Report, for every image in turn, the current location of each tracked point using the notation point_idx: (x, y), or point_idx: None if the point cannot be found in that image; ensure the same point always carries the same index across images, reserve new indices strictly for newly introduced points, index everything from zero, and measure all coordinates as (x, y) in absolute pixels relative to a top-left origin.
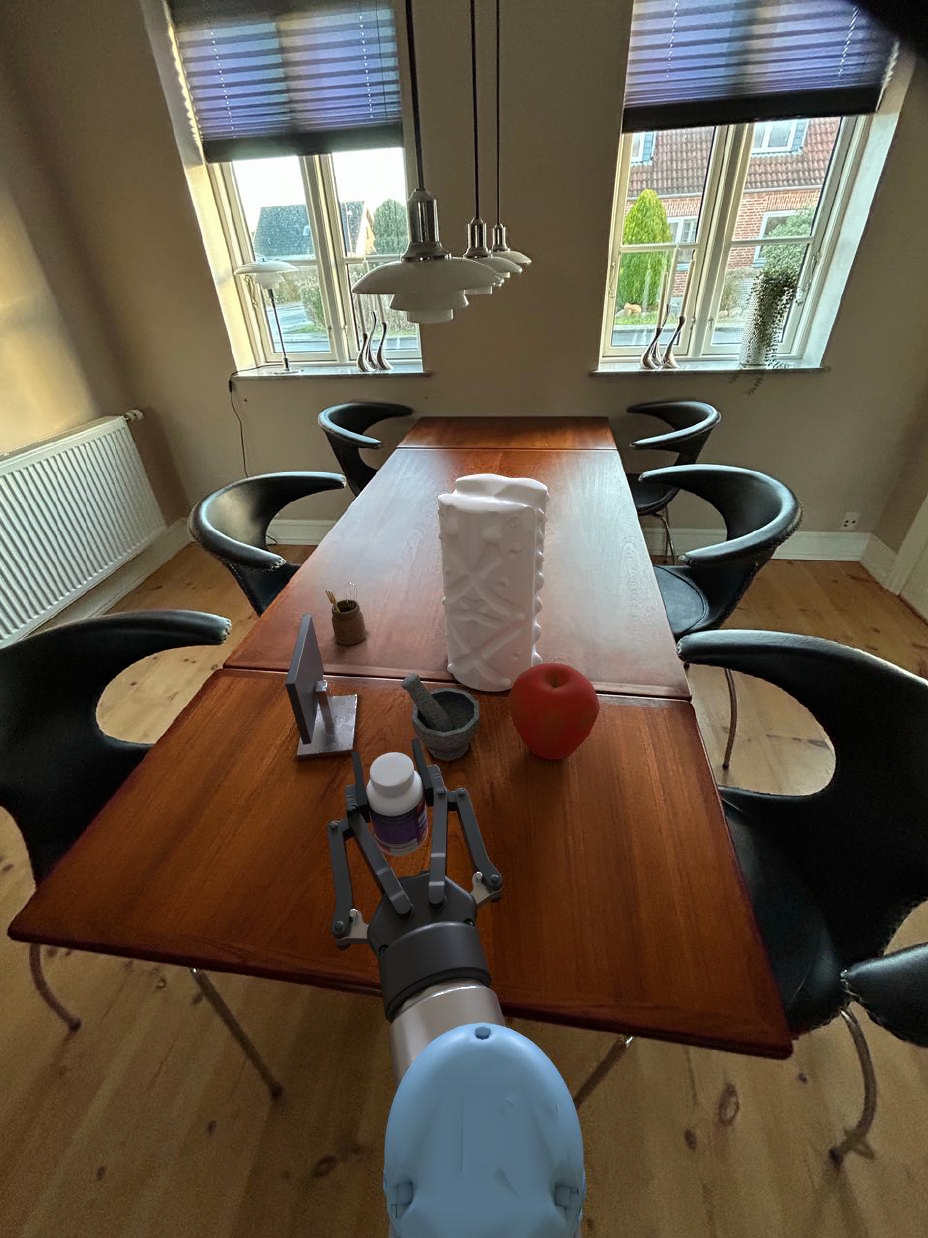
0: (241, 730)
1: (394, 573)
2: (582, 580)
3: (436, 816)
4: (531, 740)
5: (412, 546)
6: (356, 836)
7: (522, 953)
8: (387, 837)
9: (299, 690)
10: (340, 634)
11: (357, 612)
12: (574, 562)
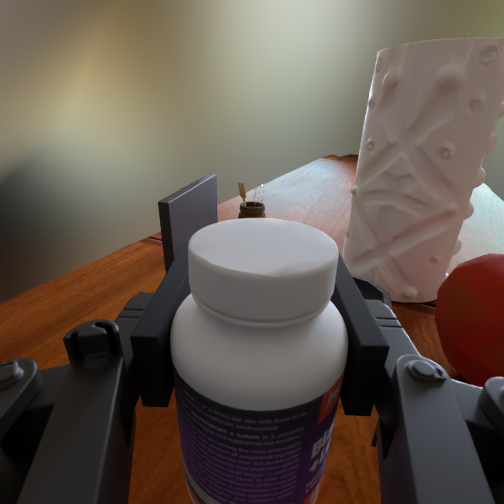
0: (128, 278)
1: (297, 208)
2: (476, 235)
3: (432, 476)
4: (482, 357)
5: (314, 197)
6: (41, 450)
7: None
8: (203, 473)
9: (175, 219)
10: None
11: (261, 210)
12: (463, 223)
